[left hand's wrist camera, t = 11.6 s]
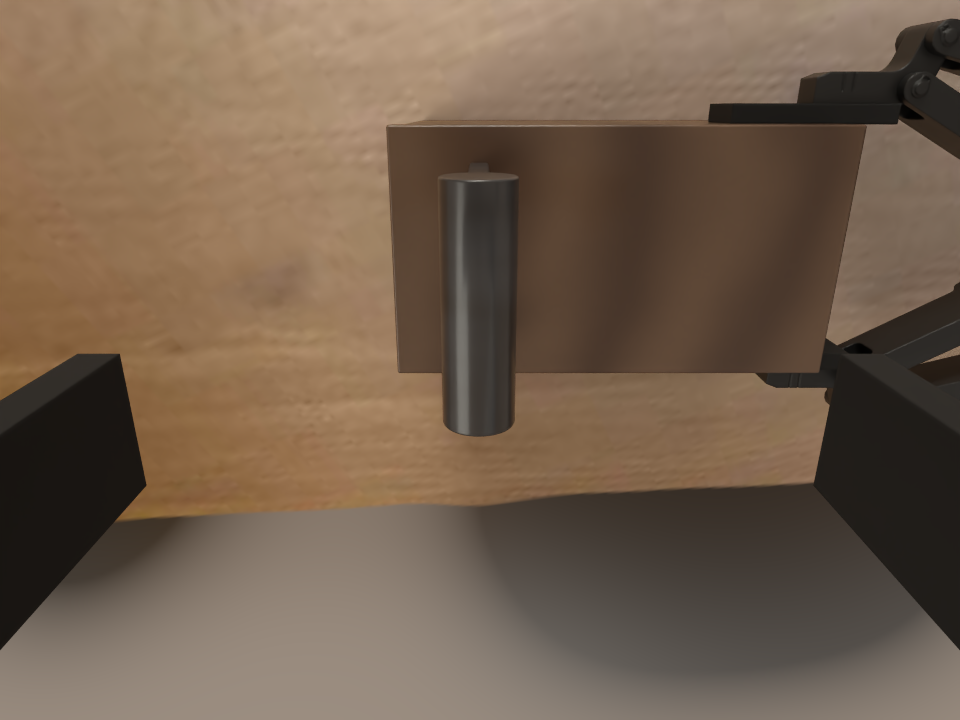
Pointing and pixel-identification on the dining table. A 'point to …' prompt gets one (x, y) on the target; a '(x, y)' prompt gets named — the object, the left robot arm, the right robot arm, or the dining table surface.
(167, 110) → the dining table surface
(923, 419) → the left robot arm
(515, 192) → the lid
